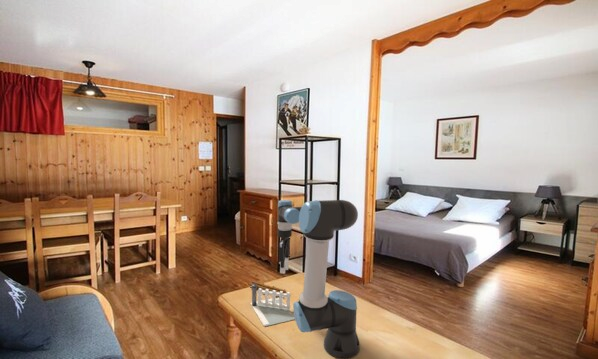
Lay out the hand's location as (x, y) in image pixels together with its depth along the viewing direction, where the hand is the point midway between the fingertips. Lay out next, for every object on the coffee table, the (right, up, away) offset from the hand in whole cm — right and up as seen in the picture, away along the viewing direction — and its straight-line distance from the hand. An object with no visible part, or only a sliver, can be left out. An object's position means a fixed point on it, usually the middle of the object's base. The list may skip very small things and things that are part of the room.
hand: (284, 271), depth 162 cm
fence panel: (-5, -18, -3) cm, 19 cm away
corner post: (-16, -19, 0) cm, 25 cm away
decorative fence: (-12, -17, +18) cm, 28 cm away
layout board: (-6, -19, -5) cm, 21 cm away
